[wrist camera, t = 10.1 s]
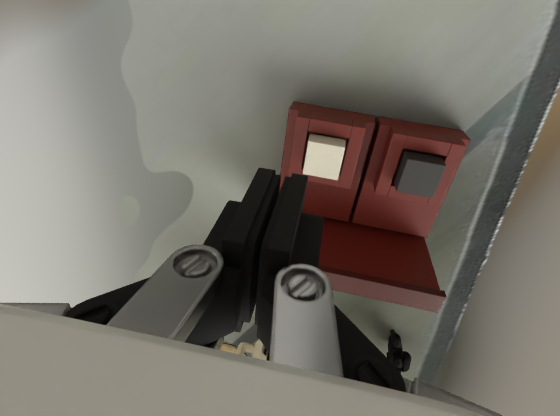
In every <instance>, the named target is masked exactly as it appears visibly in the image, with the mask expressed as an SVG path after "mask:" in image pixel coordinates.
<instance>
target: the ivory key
mask: <svg viewBox="0 0 560 416" xmlns="http://www.w3.org/2000/svg"><path fill="white" fill-rule="evenodd" d="M345 143H346V140H344V139H339V138H333V137H327V136H322V135H316V134H310V137H309V140H308V145H307V151H306V157H305V162H304V168H303V174H306V175H311V176H317V177H322V178H327V179H333V180H338V176H339V172H340V168H341V164H342V160H343V156H344V151H345Z"/></svg>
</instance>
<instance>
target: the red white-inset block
mask: <svg viewBox="0 0 560 416" xmlns="http://www.w3.org/2000/svg"><path fill="white" fill-rule="evenodd" d="M374 128H375V118H374V116H373V115H367V114H362V113H356V112H350V111H344V110H338V109H332V108H327V107H321V106H315V105H309V104H303V103H297V102H293V103H292V105H291V107H290V108H289V114H288V121H287V128H286V136H285V143H284V151H283V158H282V165H281V173H280V175H281V181H280V190H281V187H282V184H283V181H284V178H285V176H287V177H291V175H292V173H295V174H301V175H306V174H303V168H304V162H305V157H306V151H307V145H308V140H309V137H310V134H316V135H322V136H327V137H333V138H339V139H344V140H346V143H345V151H344V156H343V160H342V164H341V168H340V172H339V176H338V180H333V179H327V178H322V177H317V176H311V175H307V176H308V182H307V188H306V195H305V201H304V208H303V213H306V214H311V215H317V216H322V217H326V218H331V219H336V220H341V221H346V222H348V221H349V217H350V214H351V210H352V207H353V203H354V199H355V196H356V192H357V189H358V185H359V182H360V178H361V174H362V171H363V167H364V164H365V160H366V156H367V153H368V149H369V146H370V142H371V139H372V135H373V131H374ZM279 193H280V191H279Z"/></svg>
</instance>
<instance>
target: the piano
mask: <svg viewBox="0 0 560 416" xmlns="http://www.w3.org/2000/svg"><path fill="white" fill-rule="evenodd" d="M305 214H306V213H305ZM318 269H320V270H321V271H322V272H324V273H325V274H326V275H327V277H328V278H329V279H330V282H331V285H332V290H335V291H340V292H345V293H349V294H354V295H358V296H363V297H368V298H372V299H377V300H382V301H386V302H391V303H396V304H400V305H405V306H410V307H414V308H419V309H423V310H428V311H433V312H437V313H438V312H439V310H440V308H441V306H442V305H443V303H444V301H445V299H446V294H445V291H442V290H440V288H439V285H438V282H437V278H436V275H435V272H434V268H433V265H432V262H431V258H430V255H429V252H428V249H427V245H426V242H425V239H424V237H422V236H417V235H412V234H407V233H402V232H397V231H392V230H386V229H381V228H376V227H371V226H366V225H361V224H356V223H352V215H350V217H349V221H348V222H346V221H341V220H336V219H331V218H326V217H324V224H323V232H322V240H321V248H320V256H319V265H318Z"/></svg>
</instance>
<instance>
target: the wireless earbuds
mask: <svg viewBox="0 0 560 416" xmlns="http://www.w3.org/2000/svg"><path fill="white" fill-rule="evenodd" d="M390 332H391V335H390V337H389V342H388V352H387V359H388V360H389V361H390V362H391V363H392V364H393V365H394V366H395V367H396V368H397V370H398V371H399V372H400V373H401V371H402V372H406V371H407V370H408V369H409V367H410V362H411V356H410V354H409V353H408V352H405V351H402V344H401V338H400V336H399V335H398V334H396V333H394V330H393V329H392V330H390Z"/></svg>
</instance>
